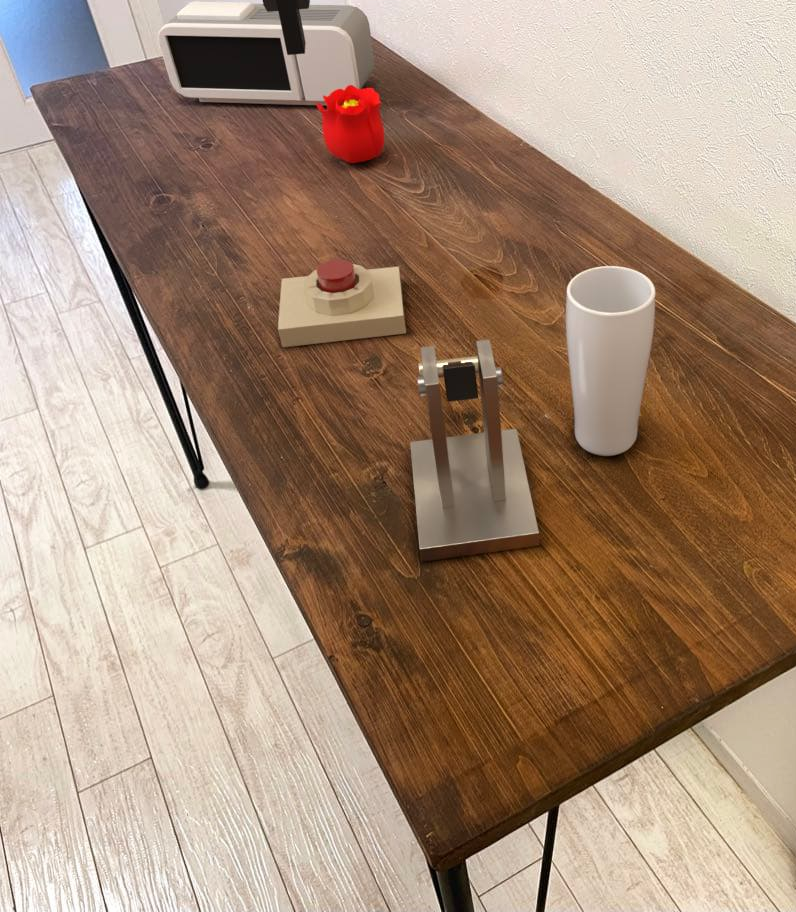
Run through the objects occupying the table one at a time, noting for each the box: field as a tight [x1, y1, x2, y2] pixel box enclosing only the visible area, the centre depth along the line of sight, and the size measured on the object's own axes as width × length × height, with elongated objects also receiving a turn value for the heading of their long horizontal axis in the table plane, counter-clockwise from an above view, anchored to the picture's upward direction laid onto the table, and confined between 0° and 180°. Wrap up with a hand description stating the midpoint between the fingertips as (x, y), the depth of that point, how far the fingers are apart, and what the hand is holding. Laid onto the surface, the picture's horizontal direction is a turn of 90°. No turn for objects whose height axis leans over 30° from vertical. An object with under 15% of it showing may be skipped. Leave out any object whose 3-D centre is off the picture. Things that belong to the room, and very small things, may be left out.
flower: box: [316, 85, 385, 164], centre depth 116 cm, size 8×8×8 cm
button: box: [316, 258, 357, 293], centre depth 90 cm, size 4×4×2 cm
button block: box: [277, 263, 407, 348], centre depth 92 cm, size 12×9×4 cm
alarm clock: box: [157, 0, 376, 107], centre depth 130 cm, size 27×9×12 cm, turn 83°
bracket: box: [409, 338, 541, 563], centre depth 69 cm, size 12×9×14 cm
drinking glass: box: [565, 265, 656, 457], centre depth 74 cm, size 7×7×15 cm
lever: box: [417, 355, 479, 403], centre depth 71 cm, size 14×6×2 cm
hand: (296, 48), depth 80 cm, fingers closed
